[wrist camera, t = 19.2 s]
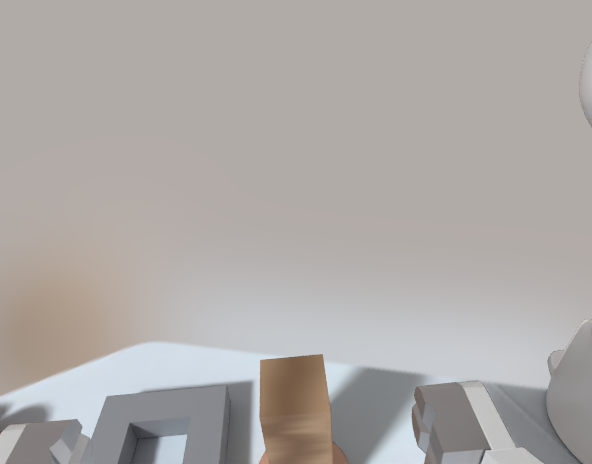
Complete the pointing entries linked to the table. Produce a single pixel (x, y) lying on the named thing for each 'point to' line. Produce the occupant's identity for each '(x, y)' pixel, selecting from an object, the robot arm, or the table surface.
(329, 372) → the table surface
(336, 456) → the terracotta coaster
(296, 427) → the walnut block
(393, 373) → the table surface
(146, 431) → the pocket holder
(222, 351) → the table surface
